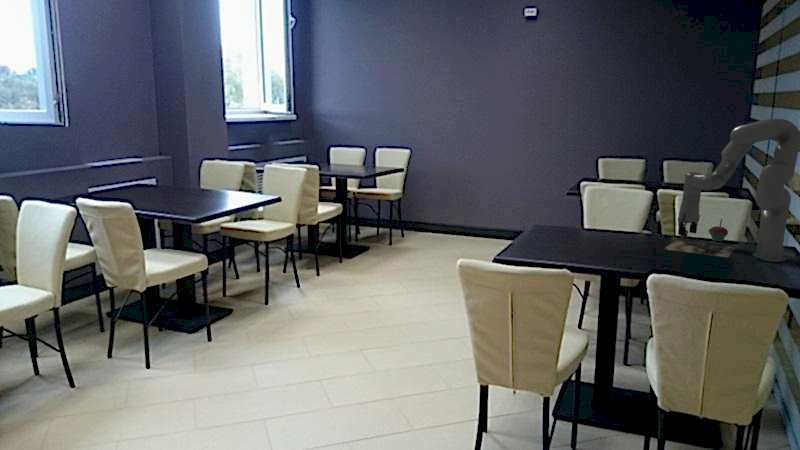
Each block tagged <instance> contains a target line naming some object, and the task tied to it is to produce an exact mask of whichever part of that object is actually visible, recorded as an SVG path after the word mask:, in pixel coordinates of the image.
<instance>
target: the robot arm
mask: <svg viewBox="0 0 800 450" xmlns="http://www.w3.org/2000/svg"><path fill="white" fill-rule="evenodd" d="M729 138H730V141H728V143H727V144H726V146H724V148H723V150H721V153H720V155H721V160H720V163H719V165H718V166H717V167H716V168H715V170H714V171H713V172H712V173H707V174H704V173H703V174H702V173H701V172H693V171H690V172H686V173H685V176H684V183H683V192H682V200H681V204H680V207H679V213H678V217H677V223H678V232H677V235H679V236H681V235H683V236H685V232H686V230H687V227H686V226H687V224H689V230H688V232H689V233H691V234H697V231H698V230H697V229H698V224H699V222H700V218H701V214H700V203H701V195H702V191H713V190H718V189H721V188H722V187H723V186H725V185H726V184H727V182H728V181H729V180H730V179H731V178H732V176H733V175H734V173H735V171H736V169H737V167H738V166H739V164H740V162H741V160H742V159H744V157H745V156H746V155H747V154H748V152H749V151H750V150H751V148H752V147H753V146H754V145H755V143H759V142H764V141H771V140H776V141H777V142H776V146H775V148H774V152H773V157H772V160H771V162H769V163H767V164H766V165H765V166H763V168H762V169H761V172H760V175H759V180H758V184H757V189H756V194H755V202H756V205H757V206H758V208H760V209H761V214H760V215H761V216H760V222H759V230H758V235H757V244H756V252H754V253H752V256H753V257H757V258H756V260H761V261H763V262H773V263H774V262H776V263H777V262H778V263H779V262H780V263H782V262H786V260H787V258H792V259H794V258H795V253H794V252H793V253H792V252H788V251H787V252H786V251H784V250H785V249H784V242H785V234H786V227H787V220H788V214H789V211H790V210H789V209H790V207H791V202H792V197H791V196H792V195H791V193H790V191H789V190H788V189H787V188H785V184H786V183H789V182H790V181H792V179H793V178H794V175H795V170H796V165H797V161H798V156H799V150H800V130H799V129H798V127H797V125H795V124H794V123H793V122H791V121H789V120H787V119H785V118H767V119H763V120H759V121H754V122H751V123H746V124H740V125H738V126H736V127H734V128H733V129H732V130H731V132H730V134H729Z"/></svg>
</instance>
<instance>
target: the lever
mask: <svg viewBox="0 0 800 450" xmlns="http://www.w3.org/2000/svg"><path fill="white" fill-rule="evenodd" d="M688 232H689V230H688V229H686V232H685V236H683V235H680V240H679V241H682V242H686V243H689V244H693V245H697V246H701V245H702V244H704V243H705V242H704V241H703V242H701V241H700V240H699V241H695V239H689V238H688V234H689V233H688ZM706 243H707V244H709V245H710V246H711V249H710V250H714V251H722V248H723V247H719V246H720V245H719V246H715V245H716V244H713V243H712V244H711V243H710V242H706Z"/></svg>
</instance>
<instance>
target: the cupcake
mask: <svg viewBox="0 0 800 450" xmlns="http://www.w3.org/2000/svg"><path fill="white" fill-rule="evenodd" d="M722 223H723V218H721V219H720V221H719V225H718V226H712V227H711V228H709V229H708V233H709V234H710V236H711V240H712V241H713V240H714V241H713V242H716V241H719V242H718V243H722V242H724V240H725V238H726V237H727V235H728V234H729V230H728V229H726V227H723V226H722Z"/></svg>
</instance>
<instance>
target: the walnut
mask: <svg viewBox="0 0 800 450" xmlns="http://www.w3.org/2000/svg"><path fill="white" fill-rule="evenodd" d="M703 243H704V244H702V245H701V249H704V250H705V252H709V251H710V249H711V246H710V245H709V244H707V243H708V242H703Z"/></svg>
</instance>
